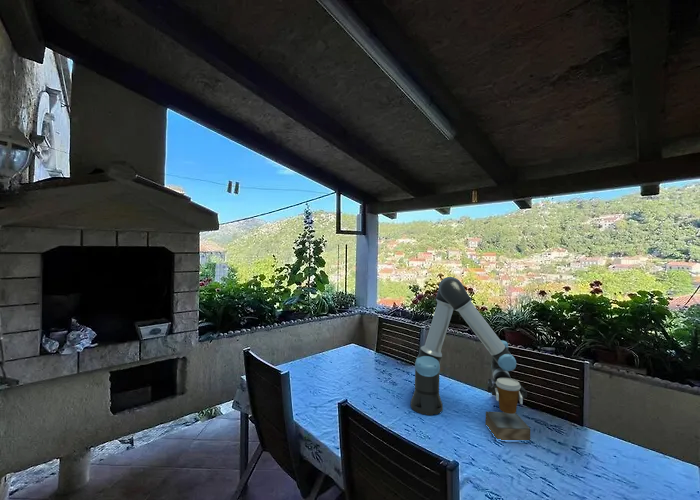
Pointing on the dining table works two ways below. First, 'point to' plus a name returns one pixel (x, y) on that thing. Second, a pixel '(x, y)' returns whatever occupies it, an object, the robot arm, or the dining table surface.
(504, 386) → the disposable coffee cup
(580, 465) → the dining table surface
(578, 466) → the dining table surface
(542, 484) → the dining table surface
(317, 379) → the dining table surface
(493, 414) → the block
